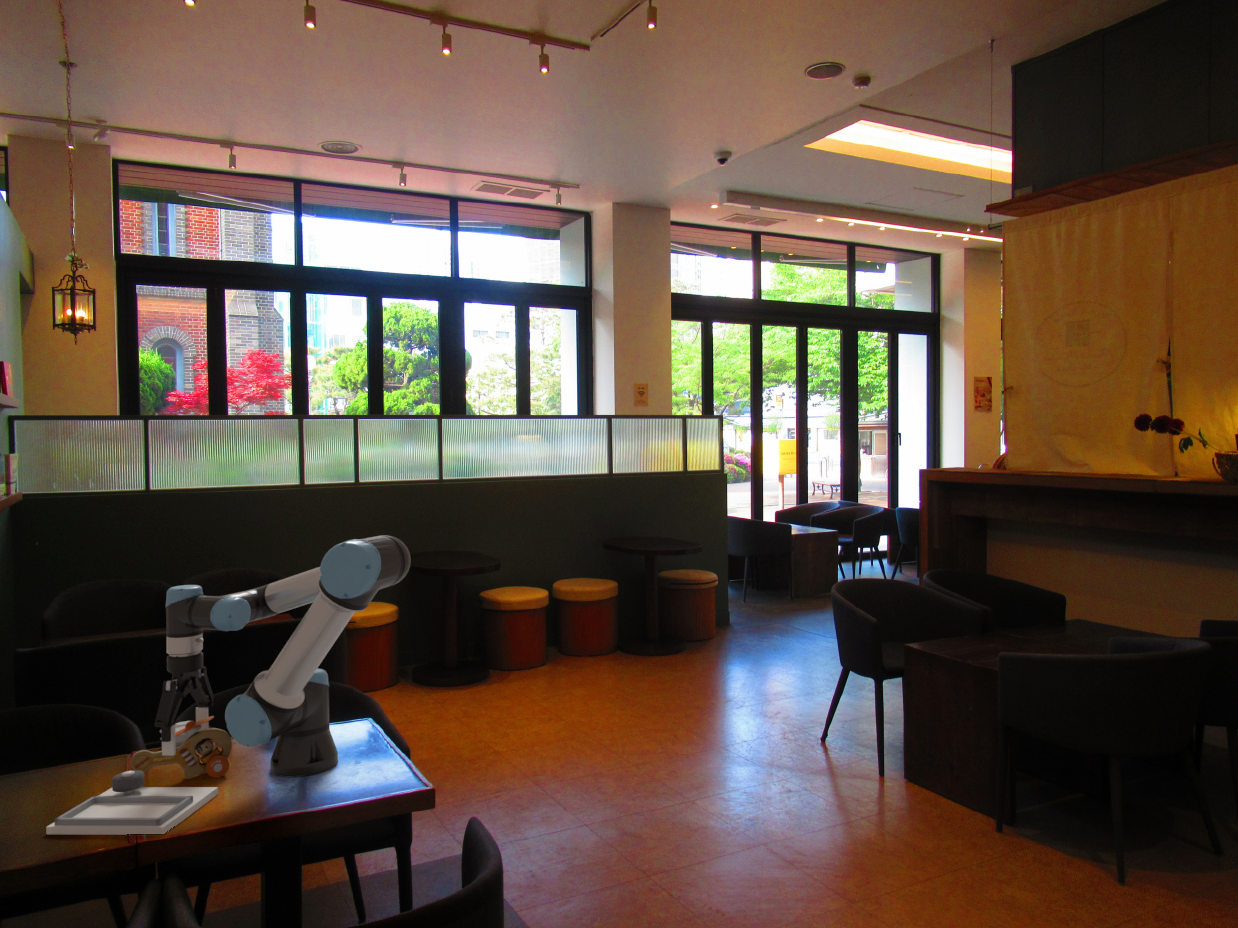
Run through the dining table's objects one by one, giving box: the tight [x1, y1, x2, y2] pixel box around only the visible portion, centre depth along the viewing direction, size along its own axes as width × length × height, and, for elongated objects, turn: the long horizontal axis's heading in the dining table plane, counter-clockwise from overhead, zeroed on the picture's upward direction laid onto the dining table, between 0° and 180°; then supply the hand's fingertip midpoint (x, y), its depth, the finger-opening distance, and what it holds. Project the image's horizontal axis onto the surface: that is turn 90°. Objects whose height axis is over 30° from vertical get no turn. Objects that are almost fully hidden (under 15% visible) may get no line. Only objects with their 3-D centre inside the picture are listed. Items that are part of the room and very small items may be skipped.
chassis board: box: [45, 786, 219, 836], centre depth 175 cm, size 24×20×3 cm
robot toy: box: [159, 720, 212, 747], centre depth 221 cm, size 12×4×15 cm
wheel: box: [111, 770, 145, 792], centre depth 182 cm, size 6×6×3 cm
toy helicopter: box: [129, 715, 233, 780], centre depth 194 cm, size 8×21×14 cm, turn 122°
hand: (186, 744), depth 195 cm, fingers open, 13 cm apart
